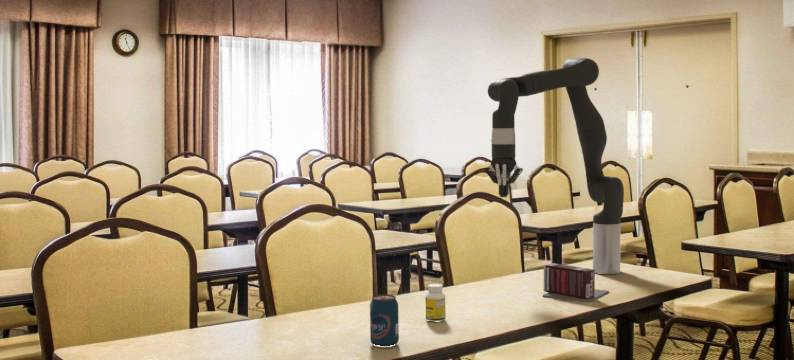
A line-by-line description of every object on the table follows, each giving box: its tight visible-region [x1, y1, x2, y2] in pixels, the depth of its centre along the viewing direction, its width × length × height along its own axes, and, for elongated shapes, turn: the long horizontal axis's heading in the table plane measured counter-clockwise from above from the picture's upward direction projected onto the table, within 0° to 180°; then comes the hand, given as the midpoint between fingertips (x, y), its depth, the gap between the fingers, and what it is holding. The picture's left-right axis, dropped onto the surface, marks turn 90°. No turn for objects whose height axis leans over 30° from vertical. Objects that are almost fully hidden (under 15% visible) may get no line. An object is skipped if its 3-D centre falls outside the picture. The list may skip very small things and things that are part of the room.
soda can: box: [369, 294, 400, 346], centre depth 221 cm, size 7×7×12 cm
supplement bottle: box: [425, 283, 447, 322], centre depth 245 cm, size 5×5×10 cm
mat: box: [542, 288, 610, 303], centre depth 276 cm, size 16×15×1 cm
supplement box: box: [543, 262, 596, 299], centre depth 274 cm, size 9×5×16 cm
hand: (503, 196), depth 287 cm, fingers closed
